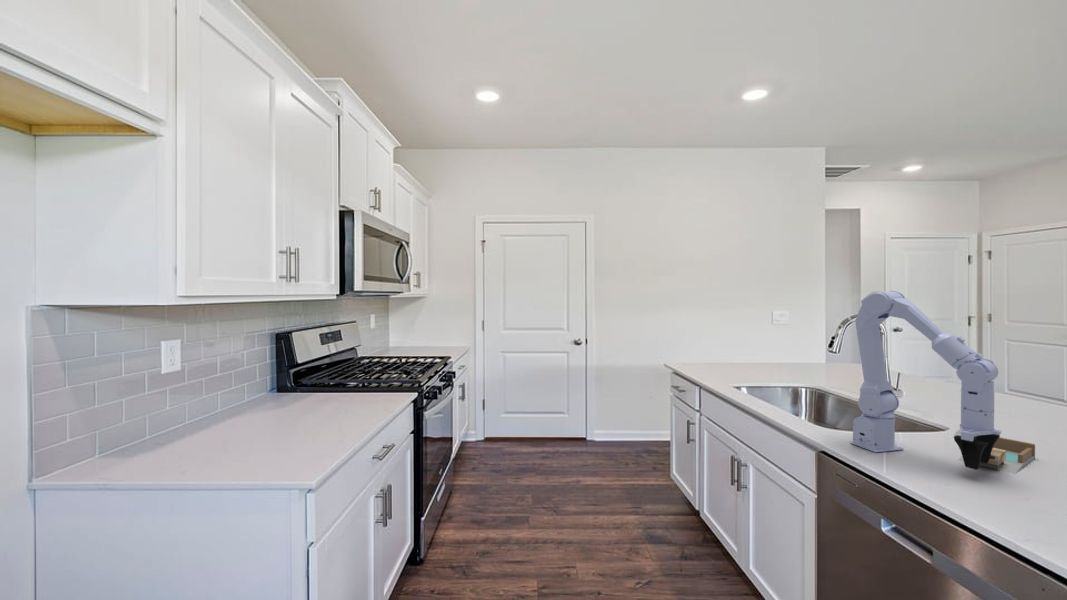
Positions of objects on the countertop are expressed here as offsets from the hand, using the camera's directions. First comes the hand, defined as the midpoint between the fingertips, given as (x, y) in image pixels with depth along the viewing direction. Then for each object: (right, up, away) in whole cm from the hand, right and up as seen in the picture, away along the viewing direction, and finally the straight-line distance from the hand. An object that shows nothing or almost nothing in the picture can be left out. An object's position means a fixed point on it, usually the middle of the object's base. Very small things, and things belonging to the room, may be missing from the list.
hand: (976, 464), depth 108 cm
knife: (+28, -2, +31) cm, 42 cm away
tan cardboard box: (+7, -1, +4) cm, 8 cm away
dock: (+13, -2, +8) cm, 15 cm away
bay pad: (+15, -2, +9) cm, 17 cm away
